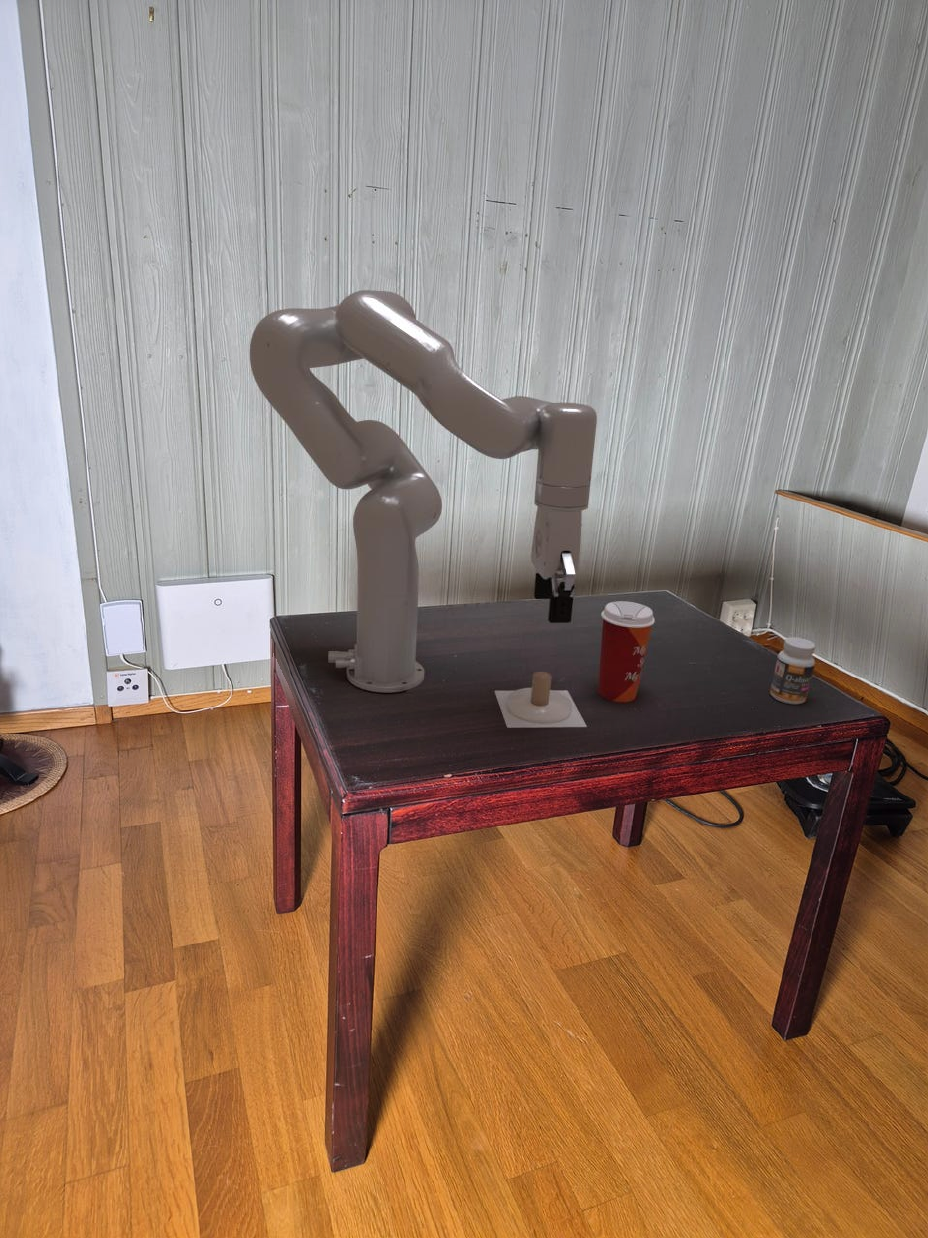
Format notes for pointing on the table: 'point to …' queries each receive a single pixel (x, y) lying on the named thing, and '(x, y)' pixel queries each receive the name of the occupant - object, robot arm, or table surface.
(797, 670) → the pill bottle
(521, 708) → the lid
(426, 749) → the table surface
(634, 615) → the coffee cup
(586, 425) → the robot arm
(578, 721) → the mat
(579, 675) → the table surface
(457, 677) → the table surface
